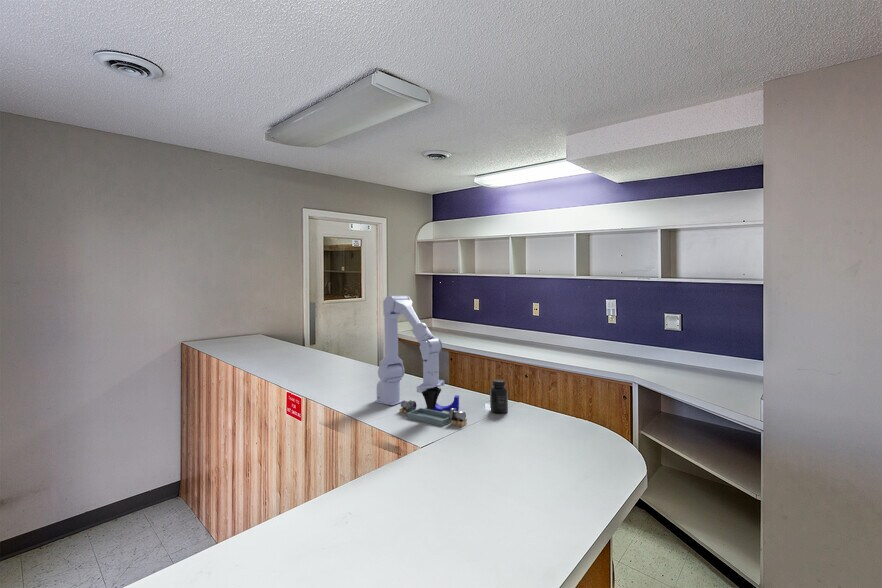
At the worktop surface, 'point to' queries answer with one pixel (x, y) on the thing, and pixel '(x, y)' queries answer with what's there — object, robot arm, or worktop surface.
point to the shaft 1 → (407, 406)
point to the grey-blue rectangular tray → (429, 416)
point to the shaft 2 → (457, 417)
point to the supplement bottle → (499, 397)
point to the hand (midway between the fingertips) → (431, 408)
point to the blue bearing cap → (453, 405)
